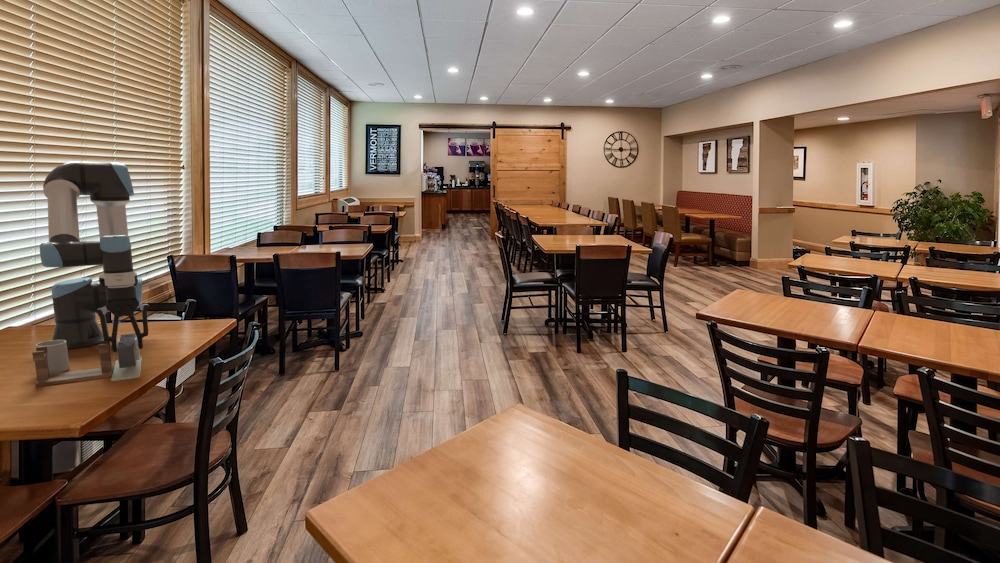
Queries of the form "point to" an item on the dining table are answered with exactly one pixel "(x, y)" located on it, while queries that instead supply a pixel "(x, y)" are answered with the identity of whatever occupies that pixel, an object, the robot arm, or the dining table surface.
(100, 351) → the stand
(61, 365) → the cup
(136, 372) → the mat
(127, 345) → the rail
